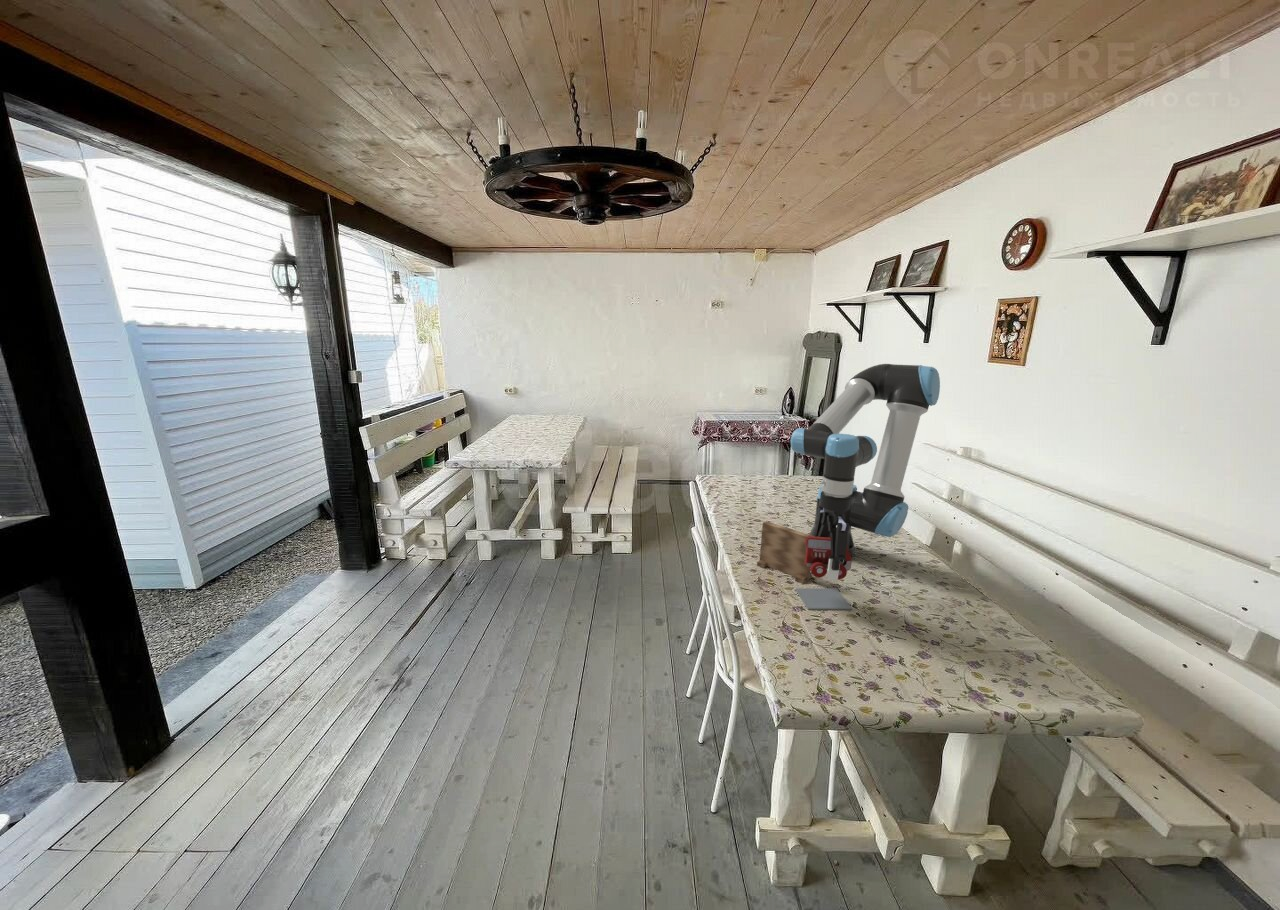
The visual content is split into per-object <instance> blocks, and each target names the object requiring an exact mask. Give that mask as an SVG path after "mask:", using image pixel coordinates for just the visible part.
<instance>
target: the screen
mask: <svg viewBox="0 0 1280 910" xmlns="http://www.w3.org/2000/svg"><path fill="white" fill-rule="evenodd" d="M809 534H810V533H809ZM809 534H808V533H806V532H805V533H804V532H803V531H799V530H796V529H792V528H789V527H786V526H783V525H779V524H776V523H773V522H770V521H768V520H765V521H763V522H762V528H761V541H760V552H759V560H758V561H756V566H758V567H761V568H762V569H765V568H766V567H769V568H771V569H774V570H777V571H779V572H781V573H784V574H787V575H790V576H791V577H795V578H794V580H795V581H796V582H798V583H800V584H804V583H806V582H808V581H809V580H810V578H811V577H812V576H813V575H812V573H811V570H810V568H809V567H807V566H806V565H805V555H806V545H805V540H806V537H807V536H812V535H809ZM814 537H815V536H814Z"/></svg>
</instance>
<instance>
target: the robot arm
mask: <svg viewBox="0 0 1280 910" xmlns="http://www.w3.org/2000/svg"><path fill="white" fill-rule="evenodd" d="M940 390H941V378H940V373H939V371H938V369H937V368H936V367H934V366H926V365H922V364H920V365H919V364H918V365H917V364H916V365H915V364H892V363H881V364H876V365H873V366H870V367H868V368H866V369H864V370H861V371H860V372H858V373H857V374H855V375H854V376H853V377H851V379H849V380H848V381H847V382H846V384H845V386H844V390H843V391H842V392H841V393H840V395H838V396H837V397H836V399H835V400H834V401H833V402H831V404H830V405H829V406H828V407H827V408H826V409H825V411H824V412H823V413H822V414H821V415H820V416H819V417H818V418H817V419H816V420H815V421H814V422H813V424H811V425H810V426H809V427H808V428H806V427H803V428H801V427H799V428H796V429H795V430H794V431H793V432H792V434H791V437H790V447H791V449H792V451H793V452H795V453H797V454H800V455H804V456H809V457H814V458H818V459H824V463H823V473H822V480H821V481H820V484H821V485H820V486H819V488H818V492H817V495H816V507H815V516H814V517H815V518H814V524H813V526H812V528H811V530H810V532H809V535H812V536H815V537H828V538H831V556H828V557H829V563H828V569H827V573H826V578H825V579H826V580H827V581H838V580H839V579H838V574H839V567H840V560H845V559H846V548H848V550H849V553H850V555H851V556H852V555H853V554H854V551H855V550H854V549H855V543H854V540H853V539H854V538H853V535H852V528H853V527H854V528H856V529H858V530H863V531H866V532H868V533H873V534H875V535H876V536H877V535H879V536H883V537H886V538H889V537H890V538H891V537H894V536H896V535H897V534H898V533H899V531H901V529H902V527H903V525H904V524H905V522H906V519H907V516H908V512H909V504H907V503H906V502H905V495H904V494H903V492H902V486H903V482H904V480H905V475H906V472H907V467H908V465H909V460H910V458H911V457H910V456H911V453H912V448H913V445H914V442H915V438H916V435H917V430H918V426H919V423H920V419H921V416H922V415H924V414H926V413H928V411H929V407H931V406H935V405H937V404H938V401H939V397H940ZM874 400H879V401H880V400H881V401H886V404H885V405H886V407H887V408H888V410H889V414H888V418H887V420H886V425H885V429H884V433H883V436H882V440H881V443H880V447H879V451H878V446H877V443H876V441H875V440H874V439H873V438H872V437H870V436H867V435H854V434H849V433H841V432H842V430H843V429H844V428H845V427H846V426H847V425H848V424H849V423H850V422H851V421H852V419H853V418H854V417H855V416H856V415H857V414H858V412H859V411H860V410H861V409H862V408H863V407H864V406H865V405H868V404H871V402H872V401H874ZM877 452H878V454H877ZM876 455H877V458H876V462H875V465H874V466H875V467H874V470H873V474H872V478H871V482H870V484H867V485H865V486H864V488H863V491H862V492H861V491H857V490H858V487H857V485H855V476H856V475H855V474H856V468H857V467H859V466H862V465H865V464H867V463H869V462H871V460H873V459H875V456H876Z"/></svg>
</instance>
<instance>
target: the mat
mask: <svg viewBox="0 0 1280 910" xmlns="http://www.w3.org/2000/svg"><path fill="white" fill-rule="evenodd" d="M794 590H795V591H796V593H797V594H798V596H799V598H800V599H801V601H802V602H803V604H804V606H805V607H806V609H807V610H815V611H816V610H817V611H824V610H825V611H828V610H829V611H830V610H831V611H835V610H837V611H838V610H839V611H842V610H843V611H845V610H847V611H852V610H853V608H852V606H851V605H850V604H849V602H848V601H847V600H846V598H844V596H843V595H842V593H841V592H840V591H839V589H838V588H819V587H817V588H815V587H814V588H807V587H806V588H797V587H796V588H795V589H794Z"/></svg>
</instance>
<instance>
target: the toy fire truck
mask: <svg viewBox="0 0 1280 910" xmlns="http://www.w3.org/2000/svg"><path fill="white" fill-rule="evenodd" d="M805 545H806V555H805V565H806V566H807V567H809V568H810V570H811V573H812V576H813V577H814V578H818V579H819V578H823V577H825V576H827V570H828V563H829V557H828V556H831V538H828V537H814V536H807V537H806V540H805ZM852 560H853V558H852V555H850V553H849V550H848V548H846V559H845V560H840V567H839V574H838V580H842V579H845V578H846V576H847V574H848V571H850V570H851V569H852V562H853V561H852Z"/></svg>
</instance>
